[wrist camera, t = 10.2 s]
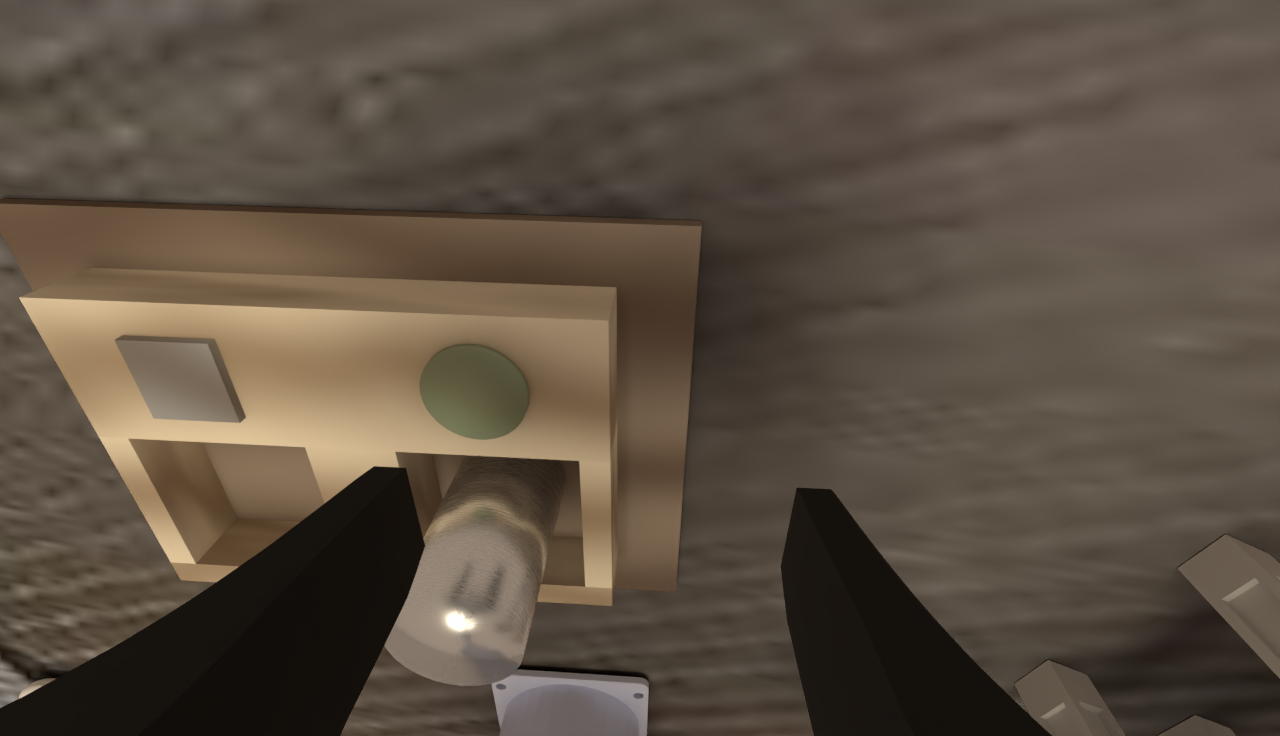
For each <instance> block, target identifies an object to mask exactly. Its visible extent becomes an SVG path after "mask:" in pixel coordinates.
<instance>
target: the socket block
mask: <svg viewBox="0 0 1280 736" xmlns="http://www.w3.org/2000/svg"><path fill="white" fill-rule="evenodd" d="M701 230H702V224H701V220H670V219H639V218H607V217H576V216H545V215H513V214H482V213H451V212H419V211H388V210H357V209H325V208H294V207H263V206H231V205H200V204H169V203H137V202H106V201H75V200H43V199H12V198H3V199H0V233H1V234H2V236H3V238H4V240H5V242H6V243H7V245H8V247H9V249H10V251H11V252H12V254H13V256H14V258H15V259H16V261H17V263H18V265H19V267H20V268H21V270H22V272H23V274H24V276H25V277H26V279H27V281H28V283H29V285H30V286H31V288H32V290H33V292H31V293H29V294H26V295H24V296H21V297H19V298H20V300H21V302H22V304H23V305H24V307H25V309H26V311H27V312H28V314H29V316H30V318H31V319H32V321H33V323H34V325H35V326H36V328H37V330H38V331H39V333H40V335H41V337H42V338H43V340H44V342H45V344H46V345H47V347H48V349H49V351H50V352H51V354H52V356H53V358H54V359H55V361H56V363H57V365H58V366H59V368H60V370H61V372H62V373H63V375H64V377H65V379H66V380H67V382H68V384H69V386H70V387H71V389H72V391H73V393H74V394H75V396H76V398H77V400H78V401H79V403H80V405H81V407H82V408H83V410H84V412H85V414H86V415H87V417H88V419H89V420H90V422H91V424H92V426H93V427H94V429H95V431H96V433H97V434H98V436H99V438H100V440H101V441H102V443H103V445H104V447H105V448H106V450H107V452H108V454H109V455H110V457H111V459H112V461H113V462H114V464H115V466H116V468H117V469H118V471H119V473H120V475H121V476H122V478H123V480H124V482H125V483H126V485H127V487H128V489H129V490H130V492H131V494H132V496H133V497H134V499H135V501H136V503H137V504H138V506H139V508H140V509H141V511H142V513H143V515H144V516H145V518H146V520H147V522H148V523H149V525H150V527H151V529H152V530H153V532H154V534H155V536H156V537H157V539H158V541H159V543H160V544H161V546H162V548H163V550H164V551H165V553H166V555H167V557H168V558H169V560H170V562H171V564H172V565H173V567H174V569H175V571H176V572H177V574H178V576H179V578H180V579H181V580H188V581H205V582H218V581H219V580H221V579H222V578H223V577H225V576H226V575H228V574H229V573H230V572H232V571H233V570H235V569H236V568H238V567H239V566H240V565H242V564H243V563H245V562H246V561H248V560H249V559H250V558H252V557H253V556H255V555H256V554H258V553H259V552H260V551H262V550H263V549H265V548H266V547H268V546H269V545H270V544H272V543H273V542H274V541H276V540H277V539H278V538H280V537H281V536H282V535H284V534H285V533H286V532H288V531H289V530H290V529H292V528H293V527H294V526H296V525H297V524H298V523H300V522H301V521H302V520H304V519H305V518H306V517H307V516H309V515H310V514H311V513H313V512H314V511H315V510H317V509H318V508H319V507H321V506H322V505H323V504H324V503H326V502H327V501H328V500H330V499H331V498H332V497H334V496H335V495H336V494H337V493H339V492H340V491H341V490H343V489H344V488H345V487H347V486H348V485H349V484H351V483H352V482H353V481H354V480H356V479H357V478H358V477H360V476H361V475H363V474H364V473H365V472H367V471H368V470H370V469H371V468H372V467H374V466H379V467H399V468H406V470H407V474H408V478H409V482H410V486H411V490H412V494H413V498H414V502H415V507H416V511H417V515H418V519H419V523H420V527H421V531H422V535H423V538H424V536H425V534H426V532H427V530H428V528H429V526H430V524H431V522H432V520H433V518H434V516H435V514H436V512H437V510H438V508H439V506H440V504H441V502H442V500H443V498H444V496H445V494H446V492H447V490H448V488H449V486H450V484H451V482H452V480H453V478H454V476H455V474H456V472H457V470H458V468H459V466H460V464H461V462H462V460H463V459H464V457H465V455H470V456H490V457H510V458H530V459H550V460H559V461H560V463H561V465H562V467H563V469H564V472H565V477H566V485H565V490H564V494H563V498H562V502H561V506H560V510H559V514H558V519H557V523H556V527H555V531H554V535H553V539H552V543H551V547H550V551H549V555H548V559H547V563H546V567H545V571H544V575H543V579H542V583H541V587H540V591H539V595H538V599H537V602H554V603H571V604H587V605H604V606H612V604H613V595H614V588H618V589H635V590H652V591H669V592H676V582H677V568H678V554H679V540H680V526H681V512H682V497H683V483H684V469H685V455H686V441H687V427H688V413H689V399H690V385H691V371H692V357H693V343H694V328H695V314H696V300H697V286H698V272H699V258H700V244H701Z"/></svg>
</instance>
